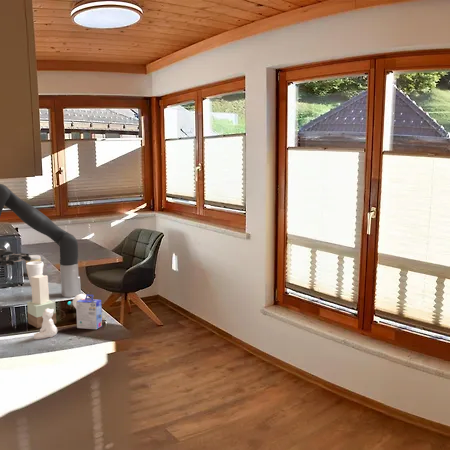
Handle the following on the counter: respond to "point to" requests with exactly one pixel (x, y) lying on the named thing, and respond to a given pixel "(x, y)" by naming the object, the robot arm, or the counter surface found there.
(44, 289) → the cream block
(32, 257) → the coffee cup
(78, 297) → the perfume bottle
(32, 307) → the tower top slab
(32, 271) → the foam cup
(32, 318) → the tower base slab
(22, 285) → the counter surface
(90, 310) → the ink cartridge box
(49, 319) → the white creature statuette
